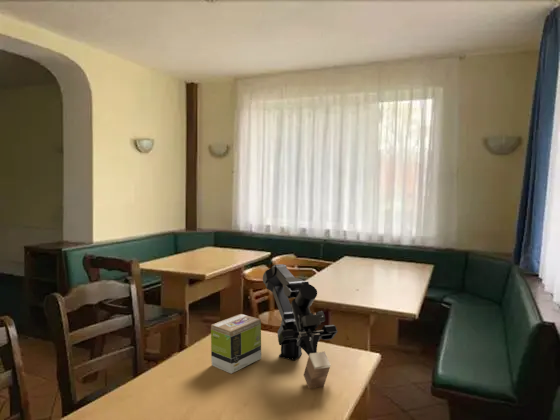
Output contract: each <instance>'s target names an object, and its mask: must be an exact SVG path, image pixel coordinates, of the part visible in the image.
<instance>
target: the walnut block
mask: <svg viewBox="0 0 560 420" xmlns="http://www.w3.org/2000/svg"><path fill="white" fill-rule="evenodd" d="M331 365H332V364H331V362H330V360H329V358H328V356H327V353H326V352H325V351H320V352H319V351H317V353H310V354H309V356H308V358H307V361H306V366H305V369H304V372H303V377H304V380H305V383H306V386H307V388H308V389H309V390H310V389H315V388H322V387H325V384H326V380H327V377H328V374H329V371H330V368H331Z"/></svg>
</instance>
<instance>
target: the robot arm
mask: <svg viewBox="0 0 560 420" xmlns="http://www.w3.org/2000/svg"><path fill="white" fill-rule="evenodd" d="M262 283H263V284H264V286H265V288H266V289H267V290H268V291H270V292H271V293H272V295H273V297H274V301H275V303H276V306H277V309H278V310H279V311H278V312H279V314H280V316H281V322H280V326H279V328H278V330H277V332H276V333H277V341H278V345H279V346H280V353H279V354H278V357H279V358H283V359H285V360H292V361H296V360H297V359H298V358H300V356H301V355H303V352H302V350H303V351H304V352H305V353H306V354H307V356H308V357H309V354H310V353H318V343H319V341H320V340H323V341H328V340H329V341H330V340H333V339H334V337H335V336H336V335H337V334H338V332H339V331H338V329H337V326H336V325H335V324H328V325H323V326H322V328H321V329H318V328H319V325H322V324H321V323H324V322H325V321H326V316H325V314H324V311H323V310H321V311H317V312H316V314H314V313H313V312H311V309H310V307H312V304H313V303H314V302H315V299H316V298H317V297H318V290H317V289H316V287H315V286H313V285H312V284H310V282H309V281H305V280H303V279H302V278H299V277H295V276H294V275H293V274H292V272H290V270H289V269H288V268H287V265H286V264H284V263H283V264H280V263H279V264H274V265H272V266H271V267H270V268H268V269H267V270H265V271H264V273H263V275H262ZM289 299H292V301H290V300H289ZM316 329H317V330H316Z"/></svg>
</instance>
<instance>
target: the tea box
mask: <svg viewBox="0 0 560 420" xmlns="http://www.w3.org/2000/svg"><path fill="white" fill-rule="evenodd" d="M261 324H262V323H261V319H260V318H257V317H253V316H249V315H246V314H243V313H240V314H236V315H234V316H231V317H229V318H226V319H223V320H220V321H218V322H216V323H212V324H211V325H210V342H211V343H210V345H211V346H210V347H211V348H210V352H211V357H210V358H211V366H212V367H214V368H216V369H219V370H221V371H224V372H225V373H228V374H234V373H235V372H237V371H239V370H241V369H243V368H245V367H248V366H249V365H252V364H253V363H255V362H257V361H259V360H261V359H262V325H261Z"/></svg>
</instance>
